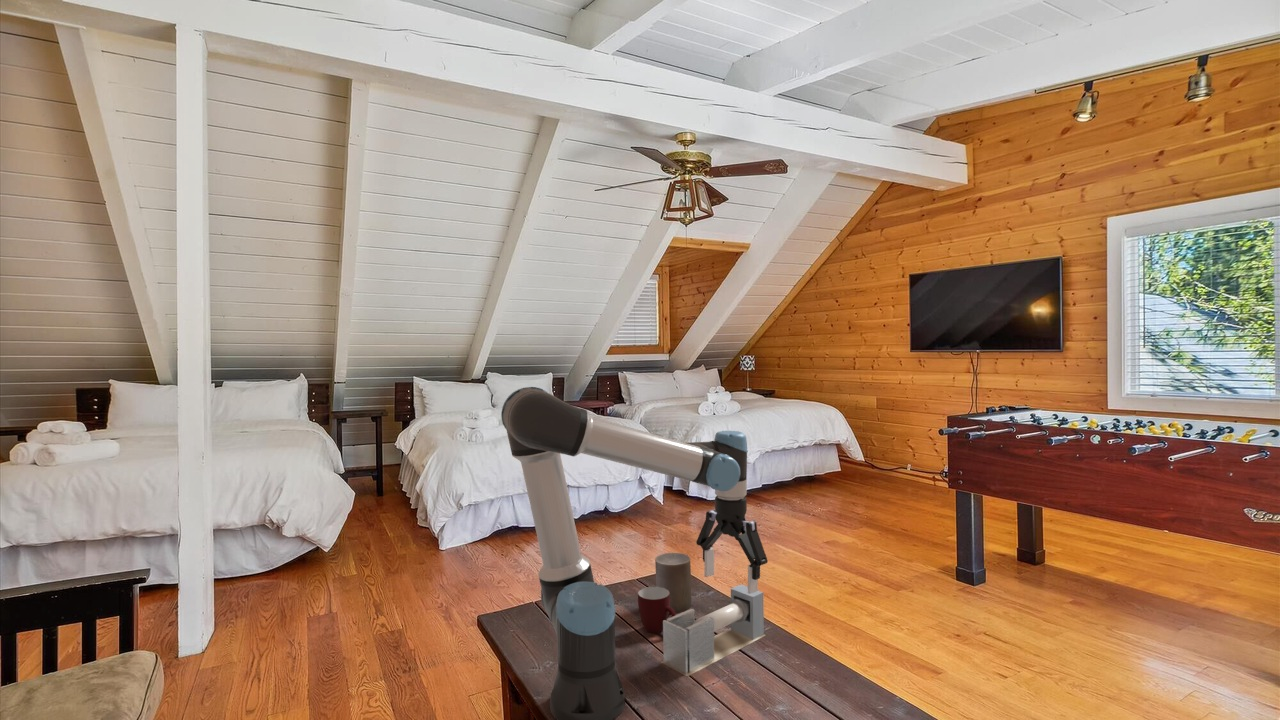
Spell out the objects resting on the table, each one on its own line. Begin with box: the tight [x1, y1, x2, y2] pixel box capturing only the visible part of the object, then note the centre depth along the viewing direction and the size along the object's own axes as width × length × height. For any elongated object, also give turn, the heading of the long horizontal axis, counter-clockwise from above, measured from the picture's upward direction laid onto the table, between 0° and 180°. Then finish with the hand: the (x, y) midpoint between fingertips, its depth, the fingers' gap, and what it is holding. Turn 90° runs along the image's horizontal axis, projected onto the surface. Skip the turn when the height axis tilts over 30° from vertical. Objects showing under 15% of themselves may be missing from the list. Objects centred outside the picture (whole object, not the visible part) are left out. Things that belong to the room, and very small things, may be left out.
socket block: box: [730, 583, 765, 640], centre depth 162 cm, size 4×7×10 cm, turn 41°
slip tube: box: [693, 599, 750, 633], centre depth 156 cm, size 18×5×5 cm, turn 131°
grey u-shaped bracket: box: [662, 608, 715, 676], centre depth 148 cm, size 9×7×10 cm
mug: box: [637, 586, 677, 634], centre depth 164 cm, size 11×8×10 cm
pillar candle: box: [654, 552, 693, 616], centre depth 178 cm, size 10×10×15 cm
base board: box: [660, 627, 766, 677], centre depth 154 cm, size 28×8×1 cm, turn 131°
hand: (730, 583), depth 157 cm, fingers open, 13 cm apart
